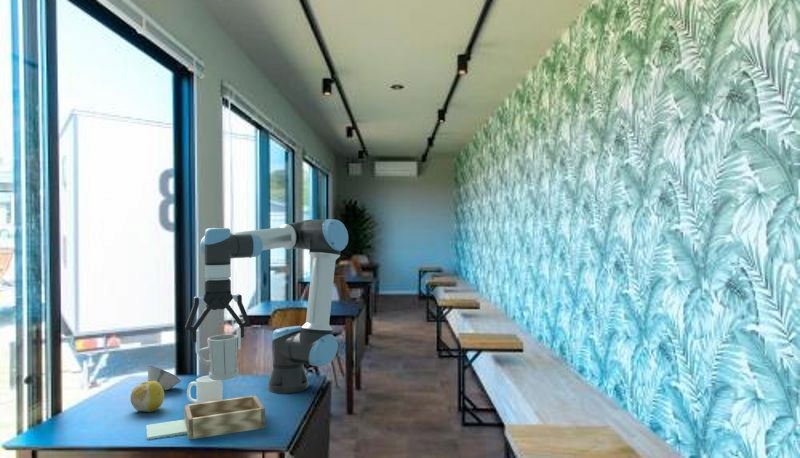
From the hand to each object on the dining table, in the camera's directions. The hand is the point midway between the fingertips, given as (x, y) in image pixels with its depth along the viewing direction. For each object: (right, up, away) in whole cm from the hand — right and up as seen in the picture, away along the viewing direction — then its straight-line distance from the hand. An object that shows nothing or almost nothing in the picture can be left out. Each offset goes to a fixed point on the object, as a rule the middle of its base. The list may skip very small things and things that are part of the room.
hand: (218, 350), depth 167 cm
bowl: (-33, -24, +39) cm, 57 cm away
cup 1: (+1, -8, 0) cm, 8 cm away
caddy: (+2, -23, +1) cm, 23 cm away
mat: (-14, -23, -4) cm, 28 cm away
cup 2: (-11, -24, +18) cm, 31 cm away
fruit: (-29, -24, +15) cm, 40 cm away
